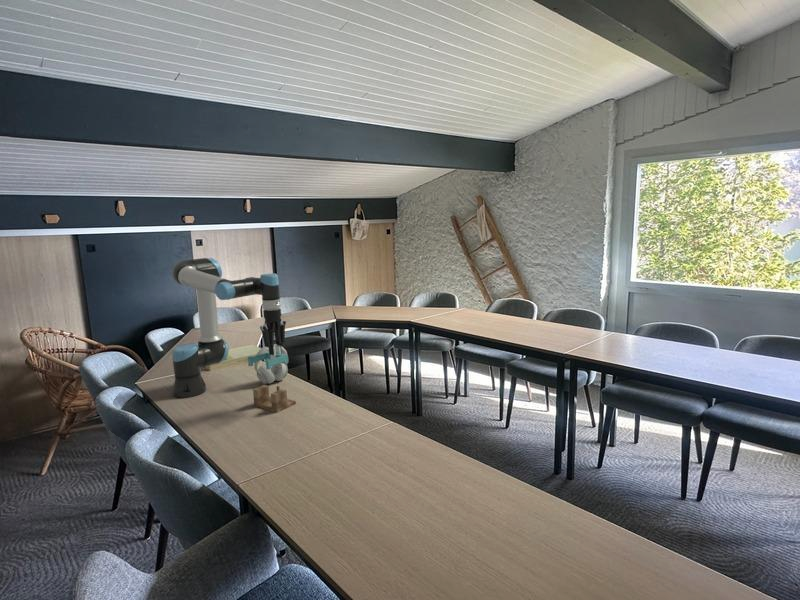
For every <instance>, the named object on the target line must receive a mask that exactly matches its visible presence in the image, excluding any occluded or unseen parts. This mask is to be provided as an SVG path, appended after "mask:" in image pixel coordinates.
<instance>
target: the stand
mask: <svg viewBox="0 0 800 600" xmlns="http://www.w3.org/2000/svg"><path fill="white" fill-rule="evenodd" d="M252 395H253V396H252V397H253V407H256V408H259V407H260V408H259V409H263V408H264V409H263V410H267V409H268V410H267V411H270V410H271V412H274V411H275V412H274V413H280V412H281V410H282V411H283V409H284V410H287V409H288V408H290V407H292V406H295V405H296V404H297V402H296V400H292V399H288V393H287V389H284V388H282V389H281V388H280V385H277V386H276V391H273V392H271V393H270V389H269V385H267V384H262V385H260V386H257V387H255V388H253V389H252ZM287 407H288V408H287ZM279 411H280V412H279Z"/></svg>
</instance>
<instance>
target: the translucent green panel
mask: <svg viewBox="0 0 800 600" xmlns="http://www.w3.org/2000/svg"><path fill="white" fill-rule="evenodd" d="M262 348H263V347H259V346H257V345H255V344H250V345H249V344H248V345H245V346H240V347H235V348H234V347H233V348H230V349H229V348H228V349H229V351H228V356H227V358H226V359H225V360H224V361H222V362H220V363H218V364H213V365H210V366H207V367H204V368H205V369H207V370H208V371H211V370H212V371H216V370H219V369H224V368H229V367H234V366H238V365H243V364H246V363H248V357H249V356H252V357H253V356H256V355H257V353H258V352H259V350H260V349H262ZM267 352H269V350H268V351H267Z"/></svg>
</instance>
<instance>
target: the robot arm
mask: <svg viewBox="0 0 800 600" xmlns="http://www.w3.org/2000/svg"><path fill="white" fill-rule="evenodd" d="M171 275H172V278H173V280H174V281H175V283H177V284H178V285H181V286H185V287H193V289H195V290H196V299H197V310H198V320H199V332H200V337H198V339H197V343H194V342H190V343H185V344H181V345H178V346H177V347H175V348H174V349H173V350H172V354H171V355H172V357H171V358H172V360H171V361H172V365H173V374H174V383H173V386H172V396H173V397H174V398H178V397H180V399H181V398H182V399H184V398H183V397H186V398H191V397H196V396H199V395H201V394H204V393H205V392H206V391H207V384H206V383H205V381H204V378H203V377H202V376H203V375H202V374H201V373H202V371H201V369H203V368H205V367H207V366H210V365H213V364H218V363H220V362H222V361H224V360H225V359H226V358H227V356H228V351H229V346H228V342H227V341H226V340H225V339H223V336H221V335H220V331H219V330H220V329H219V320H218V308H217V299H216V298H218V300H221V301H229V300H233V299H237V298H242V297H248V296H255V295H258V296H259V295H260V296H261V300H262V309H263V310H262V313H263V319H264V324H263V325H261V326H260V327H259V329H260V330H261V334H262V339H263V343H264V344H263V345H264V346H265V347H268V348H269V350H268V351H269V354H270V355H271V359H274V358H276V353H280V354H282V353H281V351H282V349H281V346H283V345H284V344H285V341H286V337H285V336H286V324H287V321H286V320H282V318H281V317H282V309H281V295H280V285H279V284H280V282H279V276H278V274H277V273H274V272H273V273H263V274H260V277H254V276H251V277H250V276H249V277H245V278H244V279H237V280H236V279H235V280H229V279H227V278H223V277H222V276H223V269H222V266H221V265H220V263H219V262H218V261H217V260H216V259H214V258H212V257H203V258H201V257H200V258H193V259H184V260H181V261H179V262H177V263H176V264H175V265H174V266H173V268H172V272H171ZM274 341H275V342H274ZM274 344H276V345H275V347H274Z"/></svg>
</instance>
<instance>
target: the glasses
mask: <svg viewBox="0 0 800 600" xmlns="http://www.w3.org/2000/svg"><path fill="white" fill-rule="evenodd" d="M263 360H265V366H266V369H268V370H271V369H272V366H273V365H276V364H279V363H284V364H285V363H287V364H288V363H289V362H290V361H289V355H288V353H287V354H282V353H281V354H280V353H276V358H274V359H271V355H270V354H269V352H265V353H262V354H259V355H256V356H253V357H252V356H249V357H248V362H247V363H248V367H254V362H257V361H259V362H260V361H263Z"/></svg>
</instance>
